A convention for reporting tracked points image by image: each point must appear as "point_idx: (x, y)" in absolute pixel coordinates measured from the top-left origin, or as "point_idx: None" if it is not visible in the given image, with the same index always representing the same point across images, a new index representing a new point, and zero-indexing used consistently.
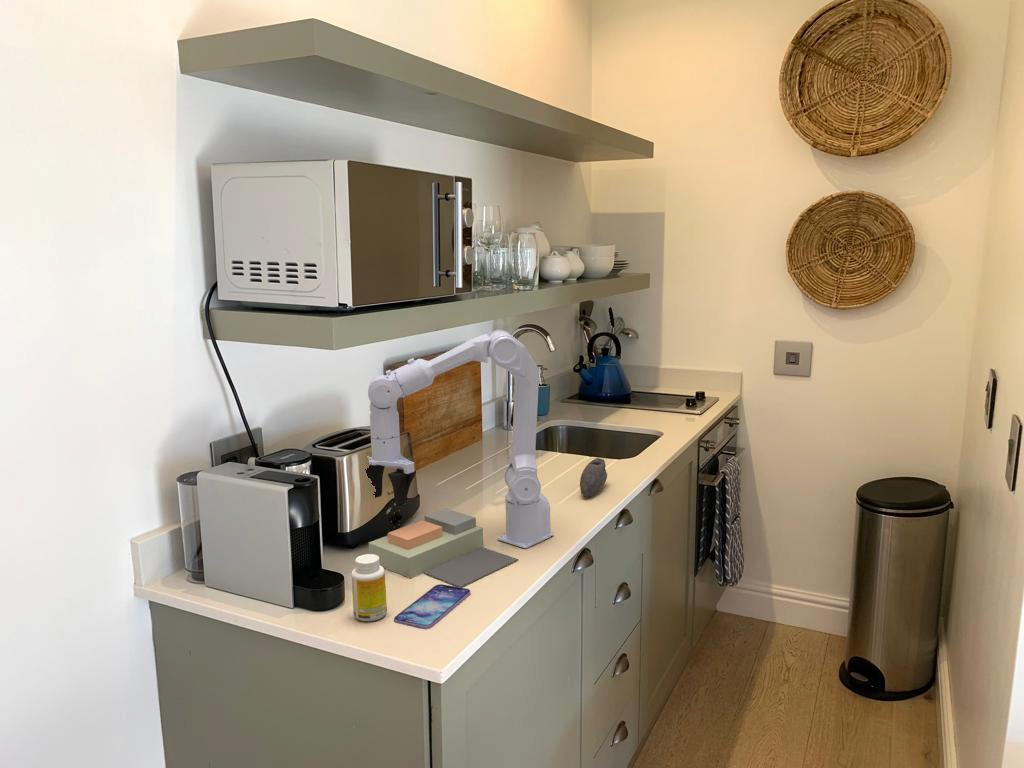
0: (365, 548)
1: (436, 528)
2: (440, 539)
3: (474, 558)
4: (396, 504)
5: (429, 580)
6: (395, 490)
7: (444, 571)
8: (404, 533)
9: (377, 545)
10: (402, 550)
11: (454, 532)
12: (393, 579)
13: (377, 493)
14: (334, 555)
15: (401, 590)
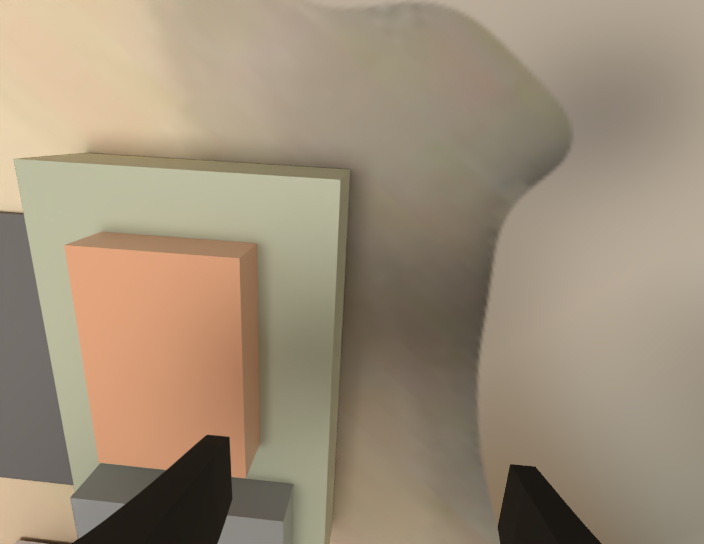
0: (482, 263)
1: (100, 435)
2: None
3: (54, 408)
4: (214, 441)
5: (18, 186)
6: (110, 534)
7: (32, 270)
8: (161, 304)
9: (270, 181)
10: (118, 211)
11: (95, 472)
12: (123, 101)
13: (512, 525)
14: (554, 119)
15: (9, 42)
